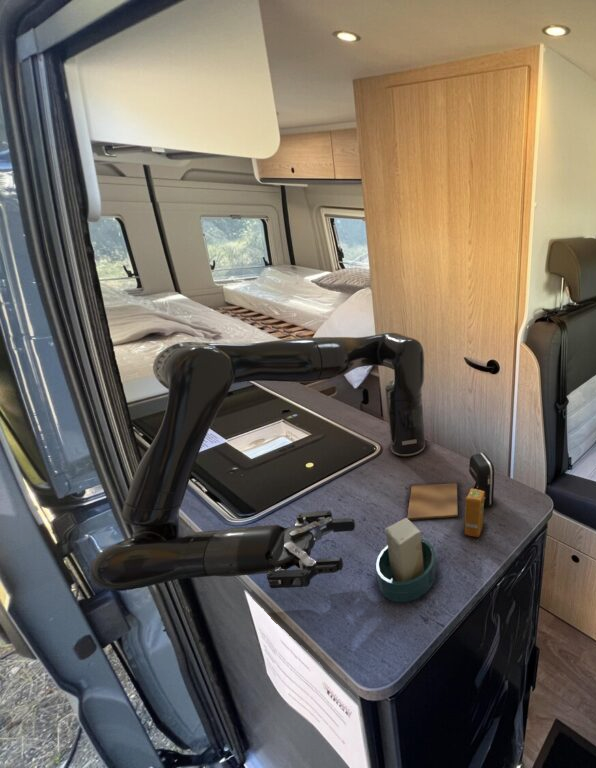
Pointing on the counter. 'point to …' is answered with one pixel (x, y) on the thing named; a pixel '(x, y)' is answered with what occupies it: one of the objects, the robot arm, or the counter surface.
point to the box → (405, 550)
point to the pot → (406, 588)
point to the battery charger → (483, 475)
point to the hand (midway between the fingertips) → (348, 542)
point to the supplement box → (474, 512)
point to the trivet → (433, 501)
